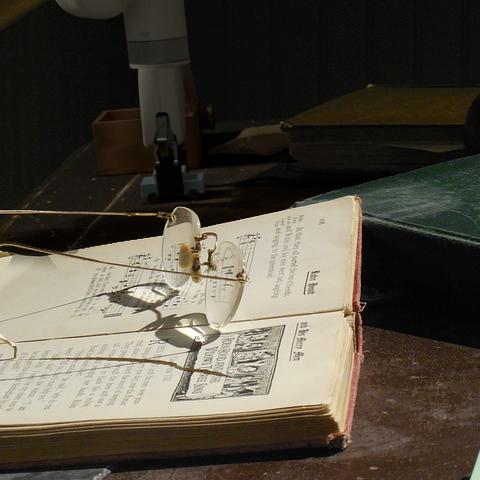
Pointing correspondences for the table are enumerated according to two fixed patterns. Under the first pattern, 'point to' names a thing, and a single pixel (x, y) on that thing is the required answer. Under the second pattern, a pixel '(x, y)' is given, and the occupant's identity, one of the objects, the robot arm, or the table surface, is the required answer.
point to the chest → (136, 142)
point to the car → (191, 182)
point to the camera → (205, 121)
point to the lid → (189, 88)
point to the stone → (255, 142)
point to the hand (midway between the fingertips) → (174, 187)
